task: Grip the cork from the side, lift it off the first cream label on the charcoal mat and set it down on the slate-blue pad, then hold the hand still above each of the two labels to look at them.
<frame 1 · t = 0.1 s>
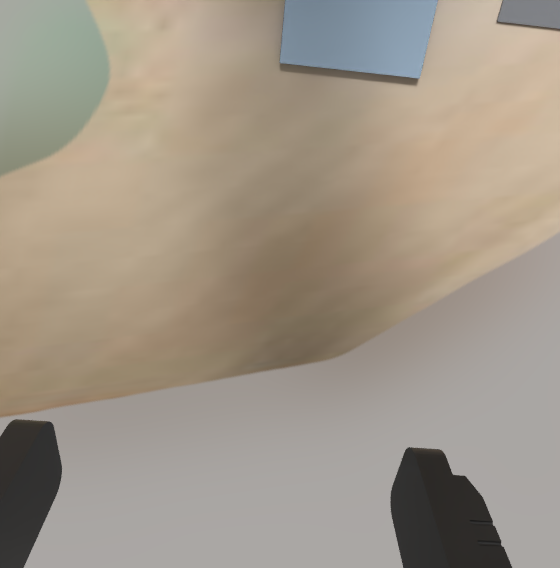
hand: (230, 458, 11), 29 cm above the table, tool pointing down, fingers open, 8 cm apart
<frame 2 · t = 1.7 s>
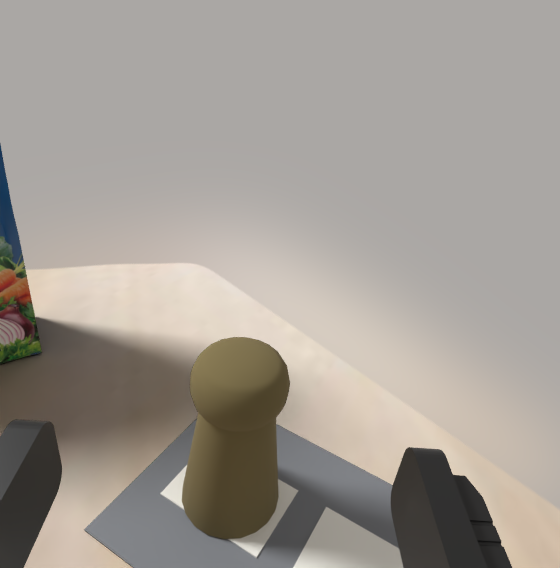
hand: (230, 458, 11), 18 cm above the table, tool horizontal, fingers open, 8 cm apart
label mat: (292, 532, 28), on the table
cork: (230, 493, 29), resting on label mat
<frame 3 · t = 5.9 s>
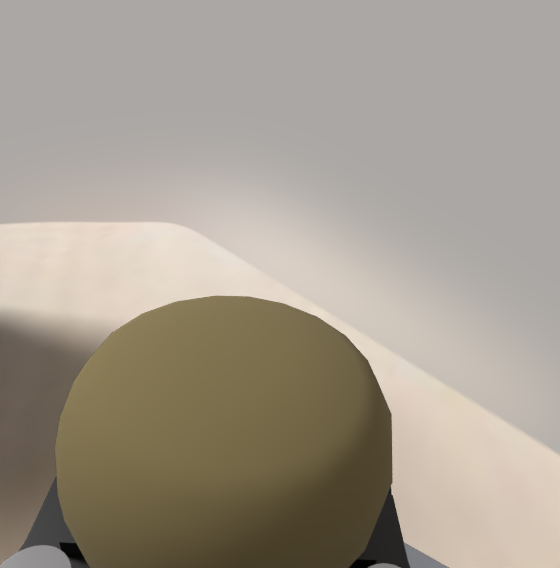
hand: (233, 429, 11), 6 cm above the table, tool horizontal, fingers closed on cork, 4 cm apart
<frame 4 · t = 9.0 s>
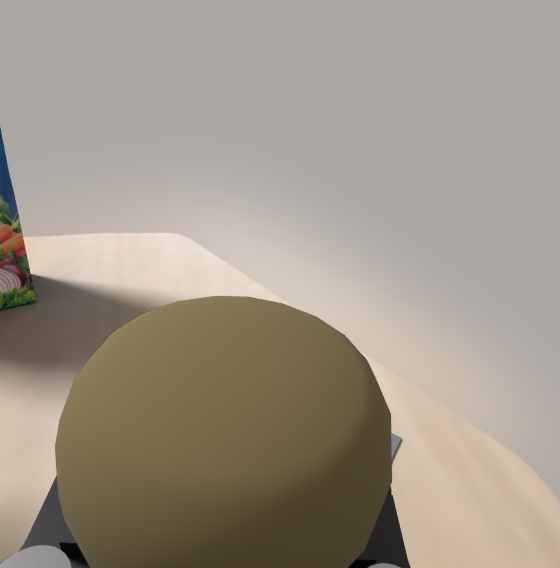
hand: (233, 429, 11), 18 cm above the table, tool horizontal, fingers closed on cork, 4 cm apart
when the fingers open (7 cm above the table, at t = 12.1 s): cork stays where it is, resting on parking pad.
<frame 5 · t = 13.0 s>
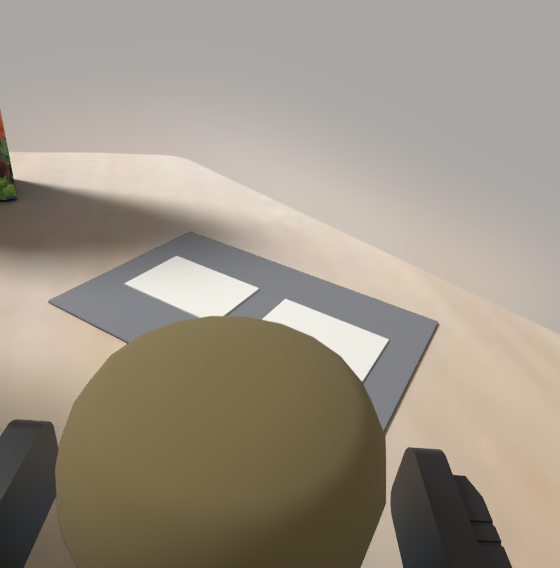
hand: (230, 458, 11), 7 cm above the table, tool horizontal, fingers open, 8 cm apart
label mat: (251, 313, 29), on the table
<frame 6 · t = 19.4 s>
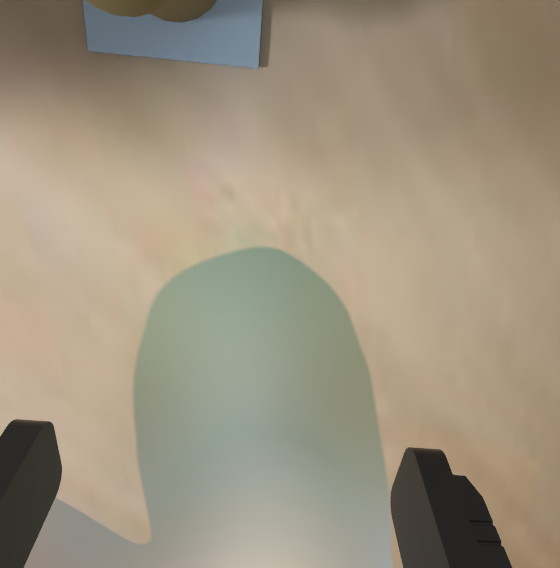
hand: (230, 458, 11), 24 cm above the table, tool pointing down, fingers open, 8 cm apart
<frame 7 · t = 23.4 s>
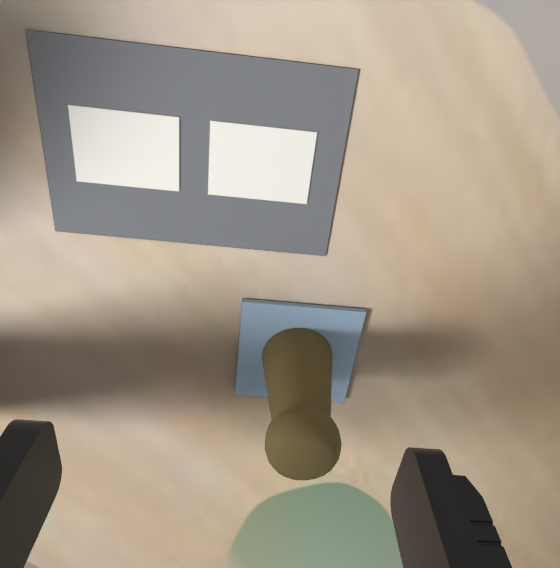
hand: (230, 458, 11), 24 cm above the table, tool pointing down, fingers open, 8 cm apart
label mat: (194, 156, 32), on the table
cork: (297, 354, 40), resting on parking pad
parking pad: (296, 352, 40), on the table
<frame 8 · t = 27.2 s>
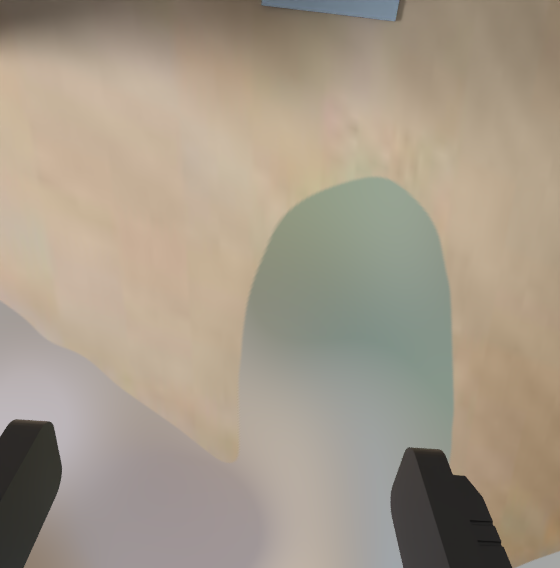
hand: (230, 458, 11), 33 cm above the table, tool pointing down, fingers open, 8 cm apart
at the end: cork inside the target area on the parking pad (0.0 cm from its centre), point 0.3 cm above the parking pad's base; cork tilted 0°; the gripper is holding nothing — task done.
